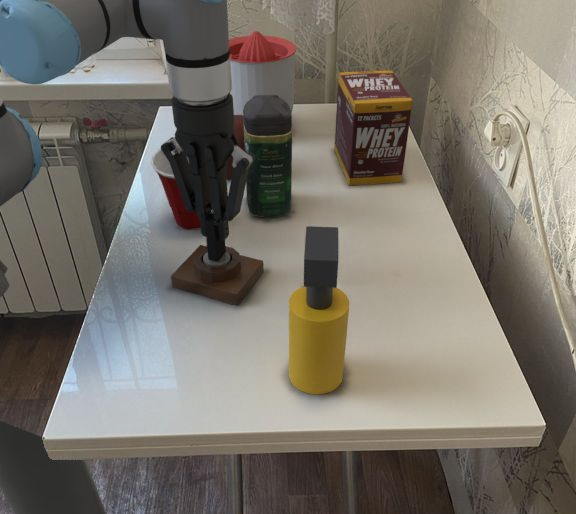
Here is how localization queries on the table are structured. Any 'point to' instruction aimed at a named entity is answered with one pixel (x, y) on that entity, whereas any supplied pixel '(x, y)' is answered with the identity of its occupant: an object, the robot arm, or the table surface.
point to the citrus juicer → (261, 69)
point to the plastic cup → (173, 192)
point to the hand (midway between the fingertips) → (217, 255)
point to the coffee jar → (268, 155)
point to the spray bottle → (318, 317)
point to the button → (222, 261)
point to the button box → (218, 276)
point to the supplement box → (371, 126)
